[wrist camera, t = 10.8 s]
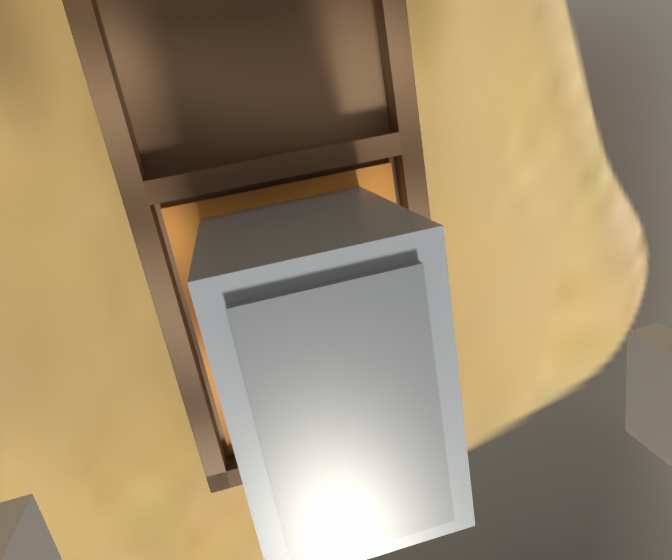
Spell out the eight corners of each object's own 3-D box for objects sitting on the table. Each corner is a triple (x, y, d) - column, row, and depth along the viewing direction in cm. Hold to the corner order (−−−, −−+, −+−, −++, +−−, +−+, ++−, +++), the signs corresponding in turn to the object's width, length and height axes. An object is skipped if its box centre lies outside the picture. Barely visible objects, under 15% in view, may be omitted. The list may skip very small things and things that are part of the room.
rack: (5, -227, 15) (-18, -264, 14) (364, -255, 17) (378, -292, 15) (211, 468, 23) (211, 492, 21) (443, 404, 25) (458, 423, 23)
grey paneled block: (200, 219, 19) (185, 286, 11) (359, 186, 20) (448, 227, 12) (254, 428, 22) (272, 598, 14) (391, 392, 23) (480, 533, 15)
